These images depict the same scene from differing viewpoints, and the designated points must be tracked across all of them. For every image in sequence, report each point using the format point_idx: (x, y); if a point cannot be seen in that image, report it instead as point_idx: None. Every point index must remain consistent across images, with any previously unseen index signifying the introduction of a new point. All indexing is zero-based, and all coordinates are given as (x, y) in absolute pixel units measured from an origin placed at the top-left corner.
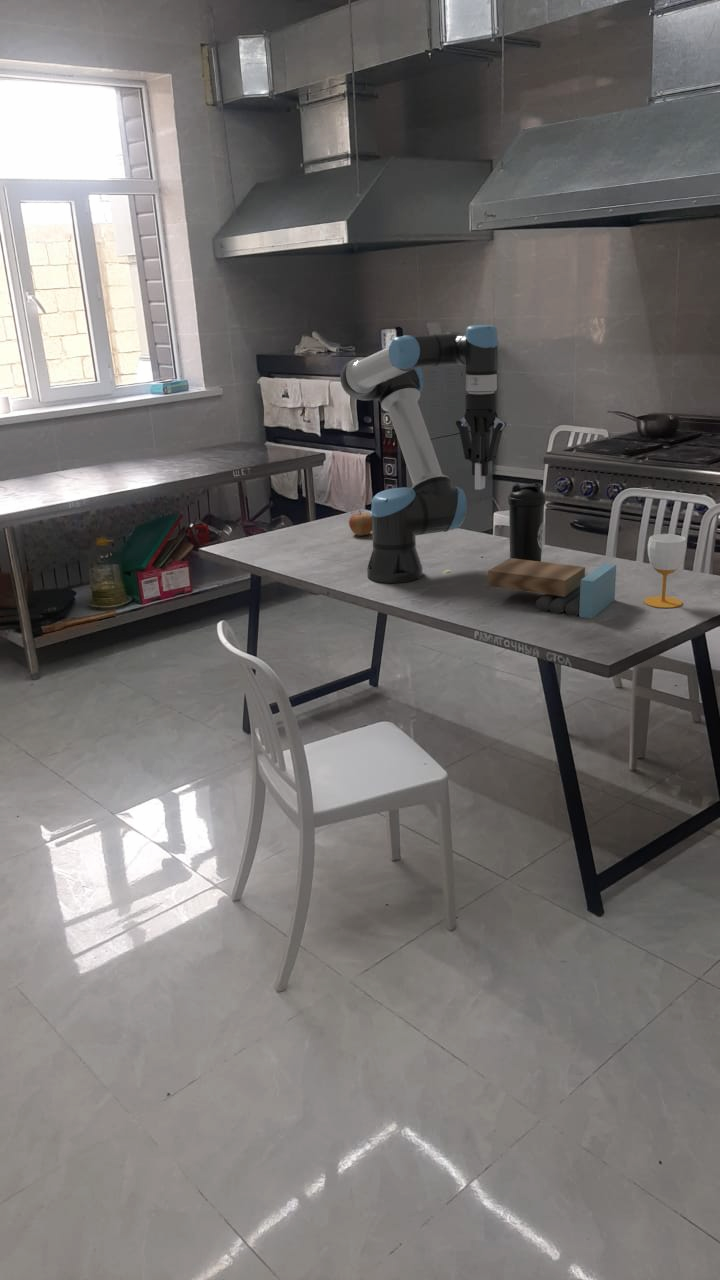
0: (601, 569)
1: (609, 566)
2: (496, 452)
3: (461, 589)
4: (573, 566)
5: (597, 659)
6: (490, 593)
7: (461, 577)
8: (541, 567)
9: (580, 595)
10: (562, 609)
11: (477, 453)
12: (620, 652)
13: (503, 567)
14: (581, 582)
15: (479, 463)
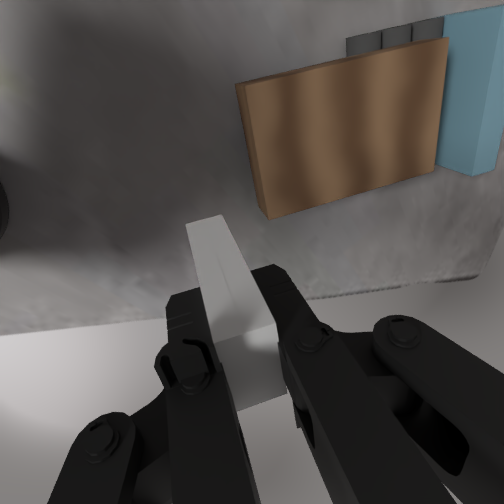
0: (501, 74)
1: None
2: (493, 384)
3: (151, 171)
4: (422, 52)
5: (470, 269)
6: (221, 151)
7: (62, 85)
8: (358, 116)
9: (447, 167)
10: None
11: (254, 482)
12: (489, 237)
13: (282, 178)
14: (469, 174)
15: (274, 392)
